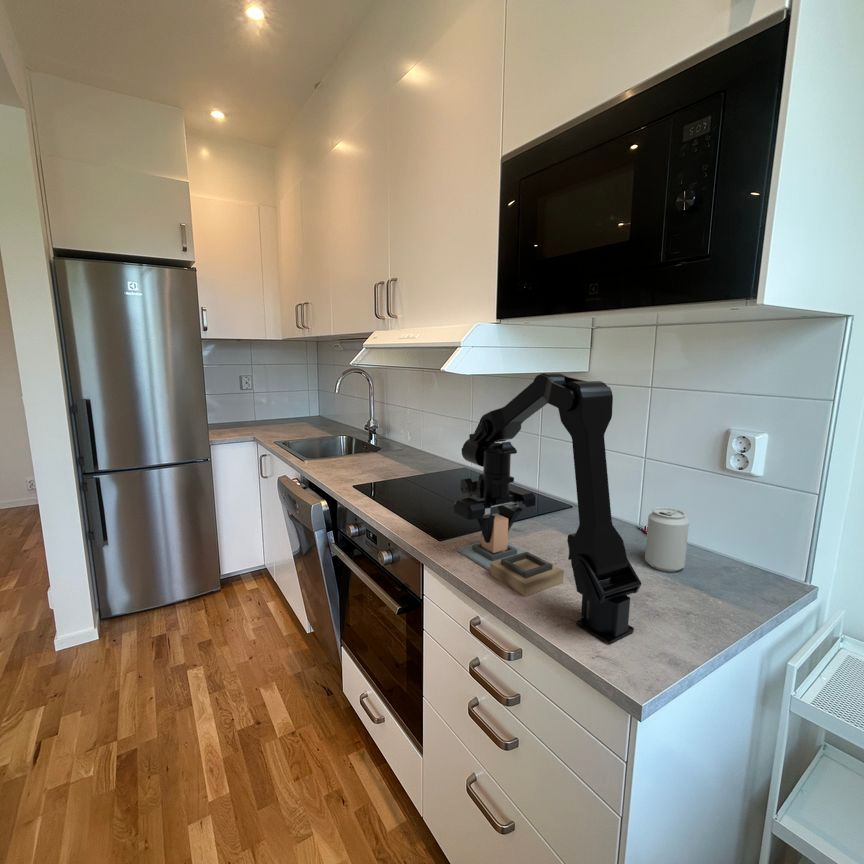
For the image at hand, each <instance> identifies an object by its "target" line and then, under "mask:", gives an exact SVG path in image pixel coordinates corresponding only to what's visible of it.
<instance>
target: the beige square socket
mask: <svg viewBox="0 0 864 864" xmlns="http://www.w3.org/2000/svg"><path fill="white" fill-rule="evenodd" d="M564 573H565V572H564V570H563V569H561V568H559V567H558V566H555V565H553V563H551V562H548V561H546V560H544V559H542V558H541V557H539V556H536V555H535V554H532V553H531V552H529V551H526V552H524V553H521V554H518V555H514V556H511V557H507V558H504V559H501V560H499V561H495V562H492V563H490V571H489V575H490V576H491V577H492V578H495V579H496V580H497V581H499V582H501V583H502V584H504V585H505V586H507V587H509V588H510V589H512V590H514V591H515V592H516V593H518V594H519V595H522V596H523V597H528V596H531V595H534V594H536V593H539V592H542V591H545V590H547V589H550V588H553V587H554V586H558V585H561V584H563V583H564V576H565V575H564Z"/></svg>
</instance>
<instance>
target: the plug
mask: <svg viewBox="0 0 864 864" xmlns="http://www.w3.org/2000/svg"><path fill="white" fill-rule="evenodd" d="M491 515H493V516H495V519H494V524H493V529H492V535H491V539H490V542H489V543H487V542H485V540H484V537H483V534H482V533H481V542H482V547H483V548H485V549H487V550H489V551H490V552H492V553H495V552H499V551H502V550H506V549H507V546H508V543H509V539H508V538H509V531H508V518H506V517H504V516H501V515H500V513H497V512H496V513H493V514H492V513H491Z"/></svg>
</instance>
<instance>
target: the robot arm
mask: <svg viewBox="0 0 864 864" xmlns="http://www.w3.org/2000/svg"><path fill="white" fill-rule="evenodd" d="M613 401H614V395H613V391H612V389H611V387H610V386H608V385H607V384H606V383H605V382H603V381H601V380H589V381H586V380H584V379H583V380H582V379H578V378H574V377H570V376H567V375H566V374H565V375H564V374H562V373H560V372H556V373H555V372H548V373H547V372H546V373H539V374H538V375H536V376H535V378H534V380H533V381H532V382H531V383H530V384H529V385H527V386H526V387H525V388H524V389H523V390H522V391H521V392H519V393H518V394H517V395H516V396H515V397H514V398H513V399H511V400H510V401H509V402H508V403H506V404H505V405H504V406H502V407H500V408H497V409H496V408H495V409H494V410H490V411H489V412H486V413H484V414H483V415H481V417H480V419H479V422H478V425H477V426H476V429H475V430H474V432H473V433H469V435H468V437H469V438H468V439H467V440H466V441H465V442H464V443H463V445H462V448H461V455H462V458H463V459H464V460H465V461H466V462H469V463H471V464H474V465H477V466H479V467H483V469H482V470H483V471H482V472H483V473H481V474H479V476H478V480H475V481H473V479H472V478H471V477H469V478H463V479H460V486H459V487H460V492H461V493H462V494H464V495H465V494H467V497H465V498H461V499H457V500H456V501H455V502H454V504H453V513H455V514H456V515H459V516H460V517H463V518H464V519H466V520H471V521H472V520H476V521H477V523H478V525H479V528H480V530H481V535H482V534H483V537H484V540H485V542H487V543H489V542H490V539H491V535H492V529H493V524H494V519H495V516H493V515H491V514H492V512H491V509H493V508H497V510H498V512H499V513H498V514H499V515H501V516H504V517H506V518H508V532H509V531H510V530H511V528H512V526H513V524H514V523H515V521H516V520H517V518H518V517H519V515H520V513H522V512H523V510H524V509H523V508H521V507H520V504H519V503H522V505H523V506H524V507H525V508H530V507H533V506H536V495H535V494H534V492H532V491H529V490H527V489H524V488H520V487H517V488H511V489H510V487H511V486H510V485H511V484H510V483H514V482H515V477H514V476H511V458H512V457H511V455H513V454H514V455H515V454H517V453H518V451H517V449H516V447H515V446H513V445H512V444H513V443H512V442H511V441H509V440H513V439H514V438H515V437H516V436H517V435H518V434H519V432H520V431H521V430H522V424H523V422H525V421H527V419H528V418H530V417H532V416H533V415H534V414H535V413H536V412H539V410H541V409H542V408H543V407H544V406H546V405H548V404H549V405H551V406H552V407H555V408H557V409H558V415H559V419H560V422H561V424H562V425H563V426H564V428H565V430H566V431H567V432H568V434H569V435H570V437H571V440H572V441H571V442H572V443H571V444H572V454H573V464H574V475H575V485H576V487H575V488H576V497H577V498H576V499H577V508H578V509H577V511H578V521H579V522H578V523H579V525H578V527H577V529H576V532H575V533H570V534H568V535H567V547H568V557H567V558H568V560H569V561H570V563H571V568H572V571H573V572H572V573H573V578H574V583H575V588H576V592H577V593H579V594H580V595H581V598H582V599H581V611H580V612H581V613H580V616H581V618H579V619H576V620H575V624H576V625H577V626H578V627H580V628H581V629H583V630H585V631H587V632H588V633H590V634H591V635H593V636H595V637H596V638H598V639H600V640H601V641H603V642H605V643H606V644H609V645H610V644H612V643H614V642H616V641H618V640H620V639H622V638H624V637H626V636H628V635H631V634H632V633H634V632H635V629H634V627H633V626H631V625H629V623H630V622H629V619H630V618H629V617H630V606H631V597H629V595H631V594H637V593H638V592H639V591H640V588H641V586H642V582H641V580H640V578H639V576H638V574H637V573H636V571H635V569H634V568H633V566H632V564H631V563H630V561H629V559H628V556H627V551H626V547H625V543H624V540H623V537H622V536H621V535H620V533H619V532H618V530H617V529H616V527H615V526H614V525H613V521H612V510H611V509H612V508H611V498H610V488H609V476H608V467H607V466H608V465H607V453H606V443H605V441H606V440H605V433H606V432H607V429H608V427H609V425H610V422H611V420H612V417H613V403H614V402H613ZM507 440H508V441H507ZM500 442H501V443H500ZM472 496H476V498H478V499H482V500H479V501H478V500H477V499H475V498H471V497H472Z"/></svg>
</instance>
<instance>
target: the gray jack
mask: <svg viewBox="0 0 864 864" xmlns="http://www.w3.org/2000/svg"><path fill="white" fill-rule="evenodd" d="M456 551H457V552H458V553H460V554H461V555H462V556H465V557H466V558H468V559H469V560H471V561H473V562H474V563H476V564H478V565H479V566H481V567H483V568H484V569H485V570H487V571H488V572H490V563H492V562H495V561H499V560H501V559H504V558H507V557H511V556H514V555H518V554H521V553H524V552H527V551H526V550H523V549H521V548H520V547H518V546H515V545H514V544H511V543H510V542H508V546H507V549H506V550H502V551H499V552H495V553H492V552H490V551H489V550H487V549H485V548H483V547H482V541H478V542H475V543H471V544H466V545H464V546H463V545H462V546H460V547H456Z"/></svg>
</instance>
